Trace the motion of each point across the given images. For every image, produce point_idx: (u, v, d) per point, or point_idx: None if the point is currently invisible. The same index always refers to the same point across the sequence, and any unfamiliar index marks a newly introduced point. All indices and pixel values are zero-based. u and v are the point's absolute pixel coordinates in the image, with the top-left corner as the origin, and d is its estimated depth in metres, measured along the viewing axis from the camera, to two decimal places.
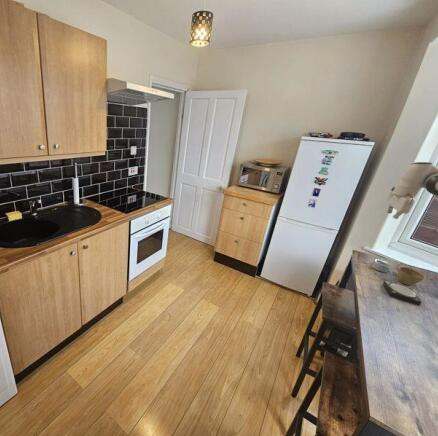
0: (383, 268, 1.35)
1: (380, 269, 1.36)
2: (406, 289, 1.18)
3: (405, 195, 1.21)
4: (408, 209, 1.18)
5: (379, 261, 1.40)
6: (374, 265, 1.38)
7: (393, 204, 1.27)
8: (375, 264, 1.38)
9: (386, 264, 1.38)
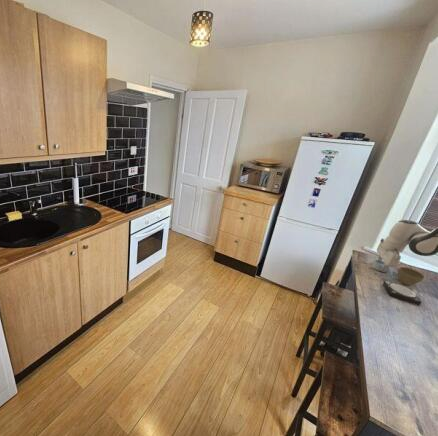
0: None
1: (380, 269, 1.36)
2: (406, 289, 1.18)
3: (393, 250, 1.29)
4: (395, 264, 1.26)
5: (379, 261, 1.40)
6: (374, 265, 1.38)
7: (382, 255, 1.36)
8: (375, 264, 1.38)
9: None
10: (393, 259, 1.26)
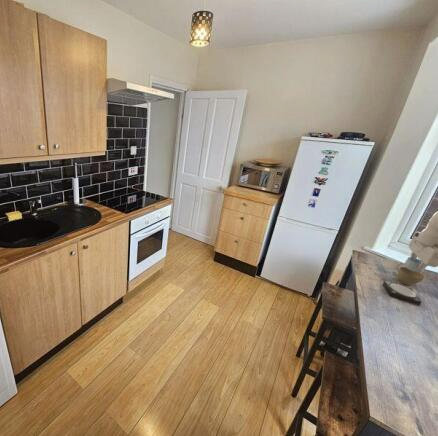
0: None
1: (415, 269, 1.12)
2: (406, 289, 1.18)
3: (432, 245, 1.05)
4: (437, 263, 1.03)
5: (412, 259, 1.16)
6: (407, 264, 1.15)
7: (417, 252, 1.12)
8: (408, 263, 1.14)
9: None
10: (434, 256, 1.03)
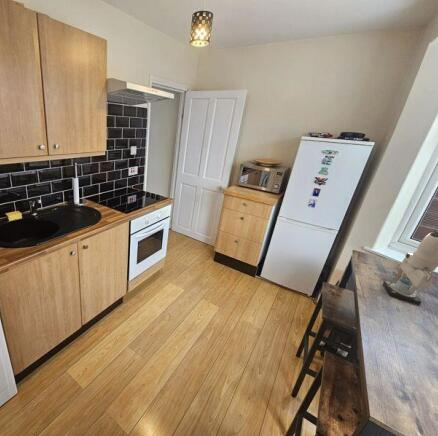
0: None
1: (405, 291, 1.14)
2: None
3: (423, 268, 1.08)
4: (426, 286, 1.05)
5: (403, 280, 1.18)
6: (397, 285, 1.17)
7: (408, 274, 1.14)
8: (399, 284, 1.16)
9: None
10: (424, 280, 1.05)
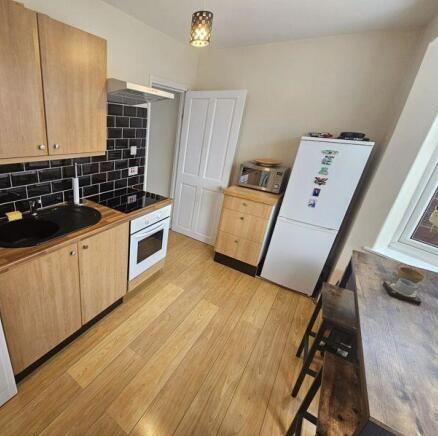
0: (409, 290, 1.13)
1: (405, 291, 1.14)
2: None
3: None
4: None
5: (403, 280, 1.18)
6: (397, 285, 1.17)
7: None
8: (399, 284, 1.16)
9: (412, 284, 1.16)
10: None
